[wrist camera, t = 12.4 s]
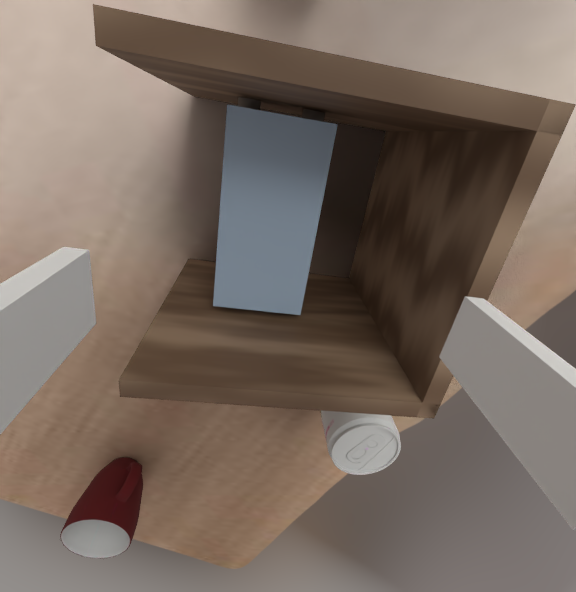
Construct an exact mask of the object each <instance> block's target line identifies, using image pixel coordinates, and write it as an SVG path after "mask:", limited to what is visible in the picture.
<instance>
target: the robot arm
mask: <svg viewBox="0 0 576 592" xmlns="http://www.w3.org/2000/svg"><path fill="white" fill-rule="evenodd" d="M95 324H96V316H95V306H94V295H93V285H92V274H91V264H90V253H89V250H87V249H79V248H71V247H62V248H60V249H59V250H57V251H55V252H54V253H52V254H50V255H49V256H47V257H45V258H43V259H42V260H40V261H38V262H37V263H35V264H33V265H31V266H30V267H28V268H26V269H25V270H23V271H21V272H20V273H18V274H16V275H14V276H13V277H11V278H9V279H8V280H6V281H4V282H2V283H1V284H0V434H1V433H2V432H3V431H4V430H5V429H6V427H7V426H8V425H9V424H10V423H11V422H12V420H13V419H14V418H15V417H16V416H17V415H18V413H19V412H20V411H21V410H22V409H23V408H24V407H25V405H26V404H27V403H28V402H29V401H30V400H31V398H32V397H33V396H34V395H35V394H36V393H37V391H38V390H39V389H40V388H41V387H42V386H43V384H44V383H45V382H46V381H47V380H48V379H49V378H50V376H51V375H52V374H53V373H54V372H55V371H56V369H57V368H58V367H59V366H60V365H61V364H62V362H63V361H64V360H65V359H66V358H67V357H68V356H69V354H70V353H71V352H72V351H73V350H74V349H75V347H76V346H77V345H78V344H79V343H80V342H81V340H82V339H83V338H84V337H85V336H86V335H87V333H88V332H89V331H90V330H91V329H92V328H93V327H94V325H95ZM439 357H440V359H441V360H442V361H443V363H444V364H445V365H446V367H447V368H448V369H449V370H450V372H451V373H452V374H453V376H454V377H455V378H456V379H457V381H458V382H459V383H460V385H461V386H462V387H463V388H464V390H465V391H466V392H467V394H468V395H469V396H470V397H471V399H472V400H473V401H474V403H475V404H476V405H477V407H478V408H479V409H480V410H481V412H482V413H483V414H484V415H485V417H486V418H487V420H488V421H489V422H490V423H491V425H492V426H493V427H494V428H495V430H496V431H497V432H498V434H499V435H500V436H501V438H502V439H503V440H504V442H505V443H506V444H507V445H508V447H509V448H510V449H511V451H512V452H513V453H514V454H515V456H516V457H517V458H518V460H519V461H520V462H521V463H522V465H523V466H524V467H525V469H526V470H527V471H528V472H529V474H530V475H531V476H532V478H533V479H534V480H535V481H536V483H537V484H538V485H539V487H540V488H541V489H542V491H543V492H544V493H545V495H546V496H547V497H548V498H549V500H550V501H551V502H552V504H553V505H554V506H555V507H556V509H557V510H558V511H559V513H560V514H561V515H562V517H563V518H564V519H565V520H566V522H567V523H568V524H569V526H570V527H571V528H572V529H573V530H576V369H575V368H573V367H572V366H571V365H570V364H569V363H567V362H566V361H565V360H563V359H562V358H561V357H559V356H558V355H557V354H555V353H554V352H553V351H551V350H550V349H549V348H548V347H546V346H545V345H544V344H542V343H541V342H540V341H539V340H537V339H536V338H535V337H533V336H532V335H531V334H529V333H528V332H527V331H525V330H524V329H523V328H522V327H520V326H519V325H518V324H516V323H515V322H514V321H512V320H511V319H510V318H509V317H507V316H506V315H505V314H503V313H502V312H501V311H499V310H498V309H497V308H495V307H494V306H493V305H492V304H490V303H489V302H488V301H486V300H485V299H483V298H475V297H467V296H465V297H464V300H463V302H462V304H461V307H460V309H459V311H458V314H457V316H456V318H455V321H454V323H453V326H452V328H451V330H450V333H449V335H448V337H447V340H446V342H445V344H444V347H443V349H442V351H441V354H440V356H439Z"/></svg>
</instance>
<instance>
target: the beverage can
mask: <svg viewBox="0 0 576 592" xmlns="http://www.w3.org/2000/svg"><path fill="white" fill-rule="evenodd" d="M320 413H321V418H322V423H323V427H324V432H325V437H326V442H327V447H328V451H329V455H330V457H331V458H332V460H333V462H334V464H335V465H336V466H337V467H338V468H339V469H340V470H342V471H344V472H346V473H349V474H355V475H366V474H371V473H375V472H378V471H380V470H382V469H384V468H386V467H387V466H389V465H390V464H391V463H393V461H394V460H395V459H396V458H397V456H398V455H399V452H400V449H401V443H400V436H399V432H398V430H397V427H396V425H395V423H394V421H393V419H392V416H391V415H377V414H363V413H349V412H334V411H320Z"/></svg>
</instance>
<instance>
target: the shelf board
mask: <svg viewBox="0 0 576 592" xmlns="http://www.w3.org/2000/svg"><path fill="white" fill-rule="evenodd" d="M337 125H338V124H333V123H327V122H322V121H316V120H311V119H305V118H300V117H294V116H289V115H283V114H278V113H272V112H266V111H261V110H255V109H250V108H244V107H239V106H233V105H228V104H227V113H226V128H225V142H224V156H223V170H222V185H221V199H220V213H219V227H218V241H217V256H216V270H215V284H214V298H213V306H218V307H227V308H237V309H246V310H256V311H265V312H275V313H284V314H294V315H301V310H302V304H303V299H304V294H305V289H306V284H307V279H308V274H309V269H310V264H311V258H312V253H313V248H314V243H315V238H316V233H317V228H318V223H319V217H320V212H321V207H322V202H323V197H324V192H325V187H326V182H327V177H328V171H329V166H330V161H331V156H332V151H333V146H334V141H335V136H336V131H337Z"/></svg>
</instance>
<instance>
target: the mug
mask: <svg viewBox="0 0 576 592" xmlns="http://www.w3.org/2000/svg"><path fill="white" fill-rule="evenodd" d="M141 472H142V465H141V464H139V463H138V462H136V461H135V460H133V459H131V458H126V457H122V458H118V459H116V460H114V461H112V462H111V463H110V464H109V465H107V466H106V467H105V468H103V469H102V470H101V471H100V472H99V473H98V474H97V475H96V477H95V478H94V479H93V481H92V482H91V483H90V485H89V486H88V488H87V489H86V490H85V492H84V493H83V495H82V496H81V498H80V499H79V500H78V502H77V503H76V505H75V506H74V508H73V509H72V511H71V513H70V515H69V517H68V519H67V521H66V523H65V525H64V527H63V529H62V532H61V536H60V537H61V541H62V543H63V545H64V546H65V547H66V548H67V549H69V550H70V551H72V552H73V553H76V554H78V555H81V556H84V557H89V558H110V557H114V556H117V555H119V554H121V553H123V552H124V551H126V550H127V549H128V547H129V546H130V544H131V541H132V538H133V535H134V532H135V529H136V526H137V522H138V517H139V510H140V504H141V497H142V490H143V479H142V474H141Z"/></svg>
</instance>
